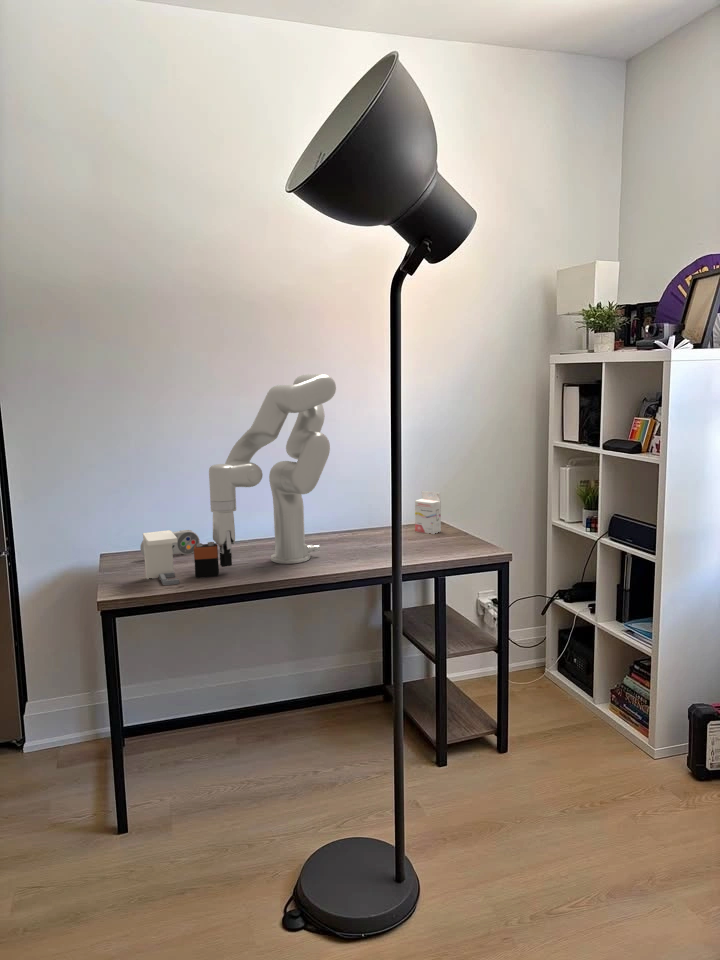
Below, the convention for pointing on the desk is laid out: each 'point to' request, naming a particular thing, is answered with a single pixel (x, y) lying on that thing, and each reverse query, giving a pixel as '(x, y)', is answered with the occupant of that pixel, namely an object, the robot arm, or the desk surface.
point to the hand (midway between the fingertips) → (226, 565)
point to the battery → (206, 560)
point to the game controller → (182, 542)
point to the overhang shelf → (159, 556)
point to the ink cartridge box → (428, 513)
